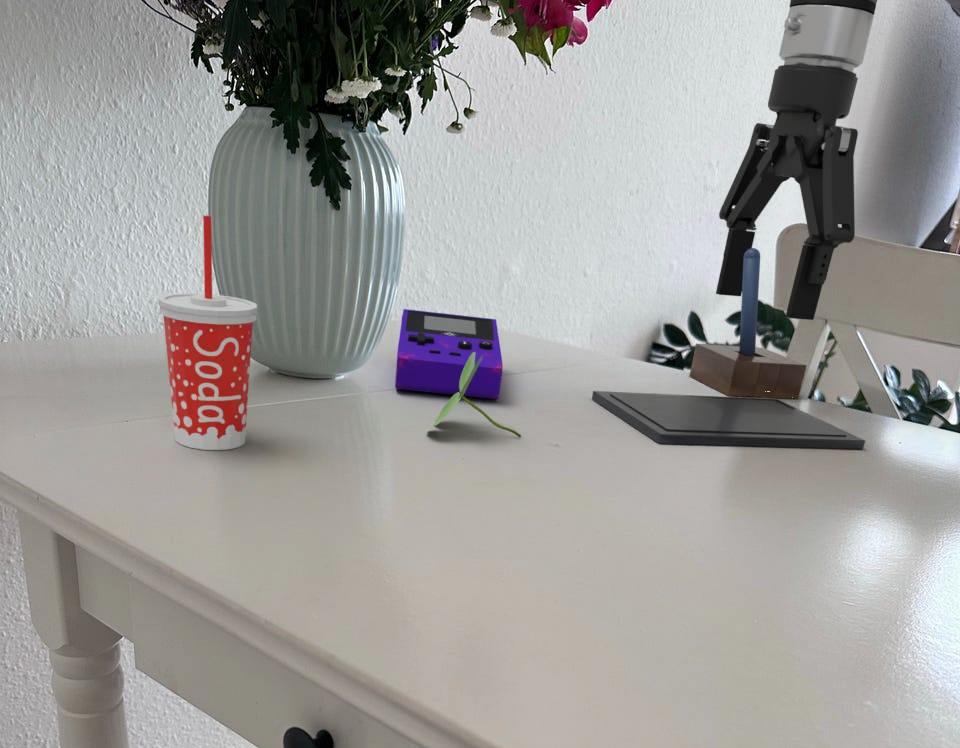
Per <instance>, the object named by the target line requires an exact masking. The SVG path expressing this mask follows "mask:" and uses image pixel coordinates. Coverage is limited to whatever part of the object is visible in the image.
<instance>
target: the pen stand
mask: <svg viewBox="0 0 960 748" xmlns="http://www.w3.org/2000/svg"><path fill="white" fill-rule="evenodd" d="M739 349H740V345H739V346H738V345H725V344H723V345H722V344H708V343H695V348H694V353H693V358H692V362H691V366H690V371H689V375H688V376H689V378H692V379H694V380H696V381H698V382H700V383H701V384H704V385H706V386H708V387H710V388H712V389H714V390H716V391H718V392H720V393H722V394H723V395H726V396H727V397H742V396H744V397H743V398H763V397H767V398H766V399H785V398H792V397H793V398H798V399H799V397H800V392H801V389H802V385H803V382H804V377H805V374H806V370H807V367H808V366H807V364H805V363H802V362H799V361H797V360H795V359H792V358H789V357H787V356H785V355H782V354H779V353H777V352H775V351H772V350H769V349H767V348H765V347H756V346H755V357H752V356H745V355H742V354H740V353H739ZM765 391H766V392H765ZM767 391H770V392H767ZM745 396H746V397H745ZM747 396H749V397H747Z"/></svg>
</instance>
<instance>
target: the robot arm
mask: <svg viewBox="0 0 960 748" xmlns="http://www.w3.org/2000/svg"><path fill="white" fill-rule="evenodd" d="M944 1H945V2H946V3H948V5H949V6H950V7H951V11H952V12H954V14H955V15H956V16H957V17H958V18H959V19H960V0H944ZM877 3H878V0H790V2H789V5H788V6H789V9H788V13H787V18H786V19H785V20H784V31H783V35H782V40H781V45H780V49H779V53H778V56H779V58H780V60H781V61H784V62H783V64H782V65H779V66H777V69H775V70H774V72H773V73H774V74H773V79H772V83H771V88H770V93H769V97H768V101H767V107H768V109H769V111H771V112H773V113H776V118H775V122H774V124H768V123H760V122H757V123H756V124H755V125H754V127H753V130H752V133H751V138H750V141H749V145H748V148H747V151H746V153H745V154H744V156H743V159H742V161H741V163H740V165H739V168H738V170H737V173H736V174H735V177H734V179H733V181H732V184H731V186H730V188H729V190H728V192H727V194H726V196H725V199H724V201H723V203H722V206H721V207H720V210H719V212H718V217H719V219H720V220H724V221H725V223H726V228H728V232H727V236H726V242H725V246H724V249H723V250H724V251H723V256H722V257H723V258H722V262H721V268H720V272H719V276H718V281H717V286H716V291H715V295H719V296H729V297H730V296H732V297H742V284H743V262H744V254H745V252H746V251H747V250H748V249H750V248H753V245H754V240H755V237H756V236H755V235H756V231H757V225H756V221H757V220H758V219H759V217H760V215H761V214H762V212H763V211H764V210H765V208H766V207H767V205H768V204H769V202H770V201H771V199H772V198H773V196H774V195H775V194H776V192H777V191H778V189H779V188H780V186H781V185H782V183H784V182H786V181H788V180H790V178H791V179H792V178H793V179H794V181H795V182H796V183H798V185H799V188H800V189H799V190H800V195H801V199H802V204H803V210H804V215H805V220H806V221H805V222H806V226H807V231H808V232H807V233H808V237H807V238H806V239H805V241H803V244H802V247H801V251H800V256H799V260H798V263H797V268H796V272H795V276H794V280H793V283H792V288H791V292H790V296H789V300H788V305H787V308H786V313H785V318H788V319H796V320H797V319H798V320H809V321H814V319H815V315H816V312H817V308H818V303H819V300H820V296H821V292H822V288H823V285H824V284H825V283H826V280H827V277H828V272H829V270H830V269H829V268H830V265H831V261H832V258H833V255H834V251H835V249H837V248H838V247H839V246H840V245H842V244H844V243H847V244H850V243H852V242H853V240H854V238H855V234H856V232H855V231H856V229H855V222H856V220H855V165H854V164H855V162H854V159H855V151H856V145H857V141H858V135H859V132H858V130H857V128H852V127H846V126H841V125H839V126H838V125H837V120H842V119H843V120H844V119H845V118H847V116H849V114H850V113H851V112H850V111H851V107H852V104H853V100H854V96H855V91H856V88H857V84H858V80H859V78H858V77H857V74H856V73H855V72H854V69H855V68H858V67H860V66H861V65H862V64H863V63H864V58H865V56H866V55H865V54H866V50H867V46H868V42H869V38H870V34H871V29H872V26H873V21H874V17H875V12H876V9H877ZM839 225H841V227H840V226H839Z"/></svg>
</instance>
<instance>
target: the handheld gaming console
mask: <svg viewBox="0 0 960 748" xmlns="http://www.w3.org/2000/svg"><path fill="white" fill-rule="evenodd" d="M397 344H398V345H397V351H396V352H397V354H396V365H395V367H396V369H395V381H394V387H395V389H396V390H405V391H414V392H424V393H433V394H442V395H443V394H444V395H452V396H453V395H454V394H456V393H457V392H459V393H460V389H459V381H460V377H461V374H462V371H463V369H464V366H465V364H466V362H467V360H468V358H469V357H470V355H471V354H472V353H473V352H475V353H476V354H475V365H476V363H477V362H478V360H479V359H480V357H481V356H483V357H482V359H481V362H480V364H479V366H478V368H477V370H476V372H475V373H474V375H473V377H472V379H471V381H470V383H469V385H468V387H467V389H466V391H465V393H464V395H463V396H464V397H471V398H480V399H491V400H499V397H500V392H501V385H502V377H503V369H504V366H503V365H504V364H503V357H502V351H501V343H500V337H499V333H498V324H497V319H496V318H487V317H481V316H479V317H478V316H470V315H461V314H451V313H444V312H435V311H425V310H416V309H407V308H403V309H402V314H401V324H400V331H399V336H398V343H397ZM475 365H474V367H475Z"/></svg>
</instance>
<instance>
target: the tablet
mask: <svg viewBox="0 0 960 748" xmlns="http://www.w3.org/2000/svg"><path fill="white" fill-rule="evenodd" d="M591 400H592V401H593V402H595V403H596V404H598V405H600V406H602V407H603V408H605V409H606V410H608V411H609V412H610V413H612V414H614V415H615V416H616V417H618V418H620V419H621V420H623V421H624V422H625V423H627V424H628V425H630V426H631V427H633V428H634V429H636V430H637V431H639V432H641V433H642V434H644V435H645V436H646V437H648V438H650V439H651V440H653V441H654V442H656V443H657V444H659V445H691V446H693V445H695V446H728V447H729V446H730V447H731V446H732V447H733V446H734V447H763V448H765V447H767V448H768V447H769V448H800V449H801V448H802V449H838V450H839V449H840V450H863V449H864V448H865V444H866V440H865V439H863V438H861V437H859V436H856V435H854V434H852V433H851V432H848V431H846V430H844V429H842V428H839V427H838V426H835V425H833V424H831V423H829V422H827V421H825V420H823V419H820V418H818V417H816V416H814V415H813V414H810V413H807V412H805V411H803V410H801V409H799V408H797V407H795V406H793V405H790V404H789V403H787V402H784V401H782V400H781V399H779V398H762V397H740V396H717V395H716V396H714V395H695V394H694V395H693V394H692V395H691V394H672V393H671V394H669V393H650V392H649V393H648V392H646V393H645V392H627V391H607V390H606V391H605V390H604V391H603V390H602V391H601V390H592V397H591Z"/></svg>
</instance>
